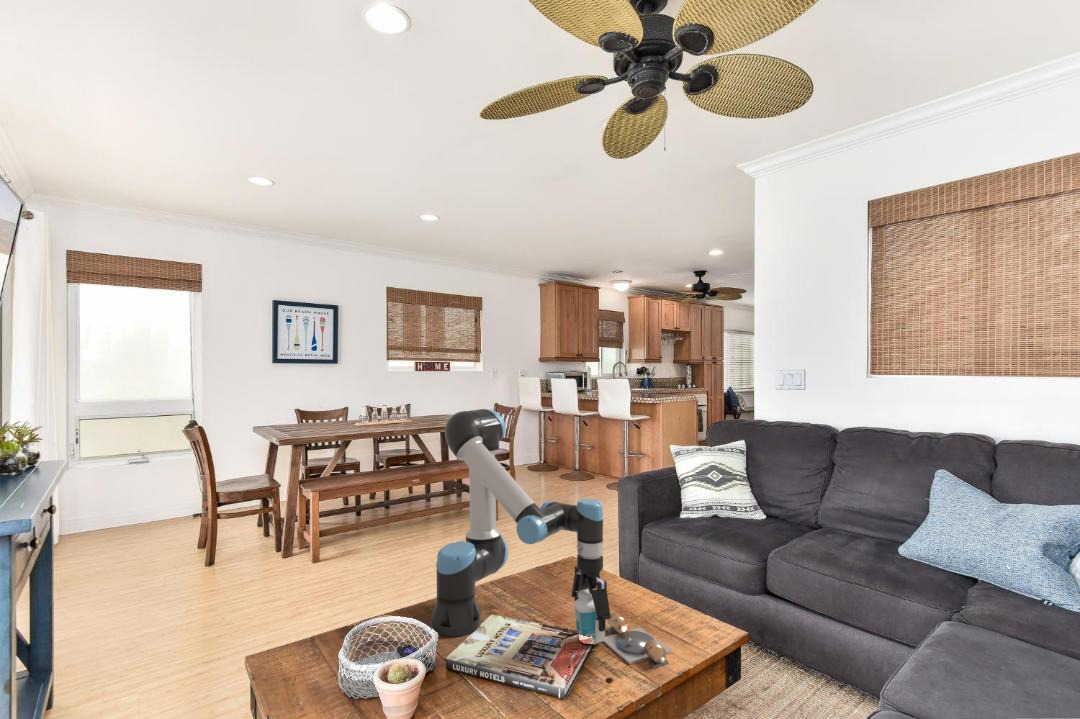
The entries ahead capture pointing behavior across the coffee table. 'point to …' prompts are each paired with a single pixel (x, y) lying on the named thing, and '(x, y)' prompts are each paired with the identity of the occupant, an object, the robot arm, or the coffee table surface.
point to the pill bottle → (585, 614)
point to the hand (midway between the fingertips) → (590, 632)
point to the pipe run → (634, 643)
